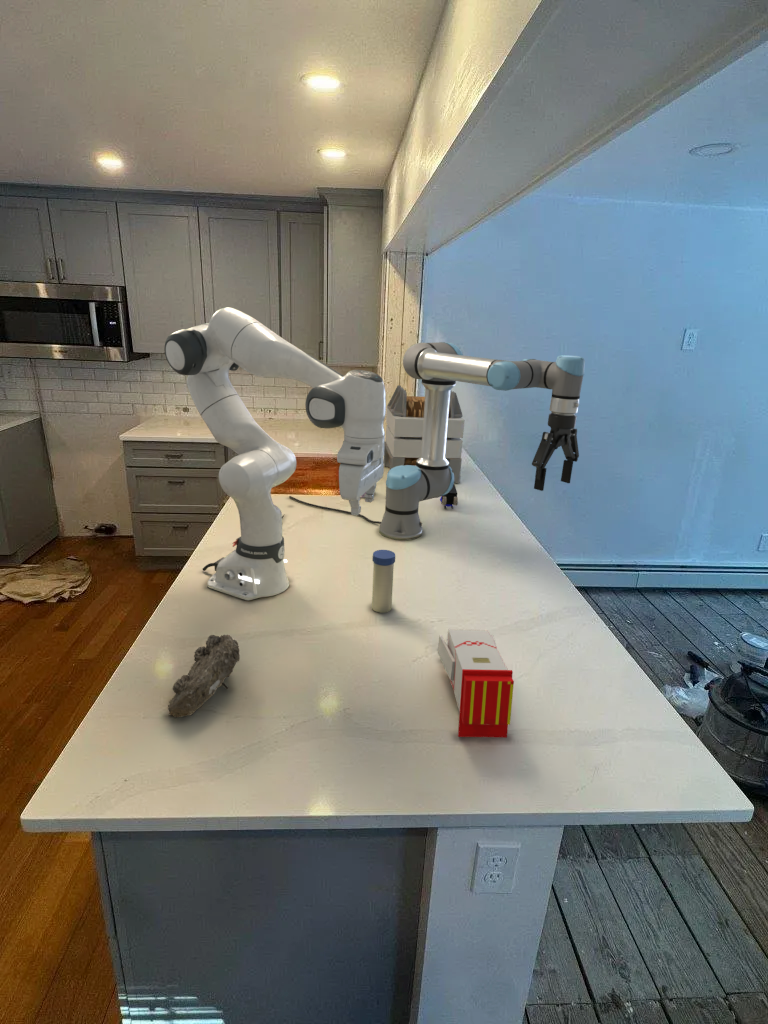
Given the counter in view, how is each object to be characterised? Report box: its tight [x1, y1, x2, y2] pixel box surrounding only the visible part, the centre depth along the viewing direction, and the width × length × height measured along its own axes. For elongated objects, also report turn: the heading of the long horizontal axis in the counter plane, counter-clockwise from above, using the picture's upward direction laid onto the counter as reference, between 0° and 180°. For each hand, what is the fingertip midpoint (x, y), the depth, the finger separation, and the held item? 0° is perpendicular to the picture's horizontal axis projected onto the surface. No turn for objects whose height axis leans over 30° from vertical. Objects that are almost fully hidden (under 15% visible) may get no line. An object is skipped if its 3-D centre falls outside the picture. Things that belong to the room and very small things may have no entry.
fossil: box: [167, 634, 241, 718], centre depth 115 cm, size 22×10×15 cm
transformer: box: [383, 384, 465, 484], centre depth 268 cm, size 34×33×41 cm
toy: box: [437, 628, 515, 738], centre depth 117 cm, size 12×13×30 cm
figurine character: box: [439, 483, 459, 510], centre depth 230 cm, size 7×8×15 cm
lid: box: [371, 549, 396, 566], centre depth 145 cm, size 6×6×2 cm
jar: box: [371, 562, 395, 614], centre depth 148 cm, size 5×5×15 cm
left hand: (362, 507), depth 128 cm, fingers open, 8 cm apart
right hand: (552, 485), depth 166 cm, fingers open, 13 cm apart
